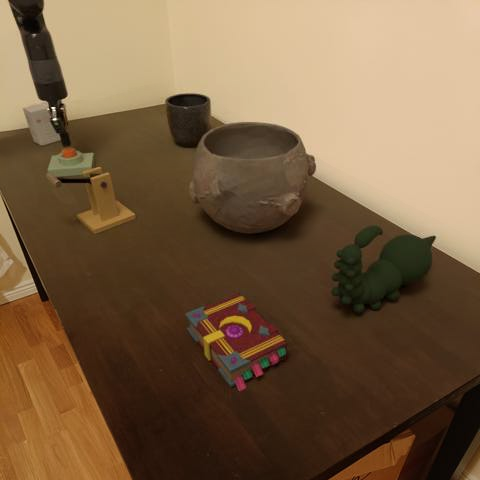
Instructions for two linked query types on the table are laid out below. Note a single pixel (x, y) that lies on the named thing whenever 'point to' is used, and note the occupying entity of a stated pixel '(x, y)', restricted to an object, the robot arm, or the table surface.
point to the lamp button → (68, 152)
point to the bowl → (250, 175)
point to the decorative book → (236, 339)
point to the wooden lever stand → (103, 204)
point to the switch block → (71, 164)
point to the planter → (188, 117)
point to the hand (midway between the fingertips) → (67, 145)
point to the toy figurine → (380, 268)
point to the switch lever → (68, 179)
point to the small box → (40, 124)
